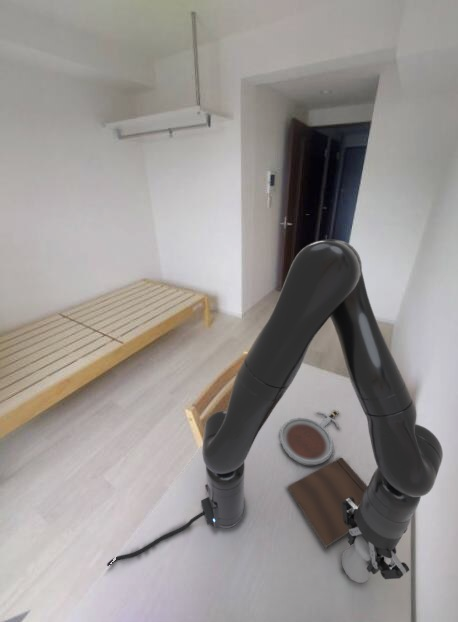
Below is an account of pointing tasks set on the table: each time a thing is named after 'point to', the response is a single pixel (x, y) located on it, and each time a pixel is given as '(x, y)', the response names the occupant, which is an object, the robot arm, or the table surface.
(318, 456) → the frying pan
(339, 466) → the serving board
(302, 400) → the table surface
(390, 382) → the robot arm
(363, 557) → the salt shaker
